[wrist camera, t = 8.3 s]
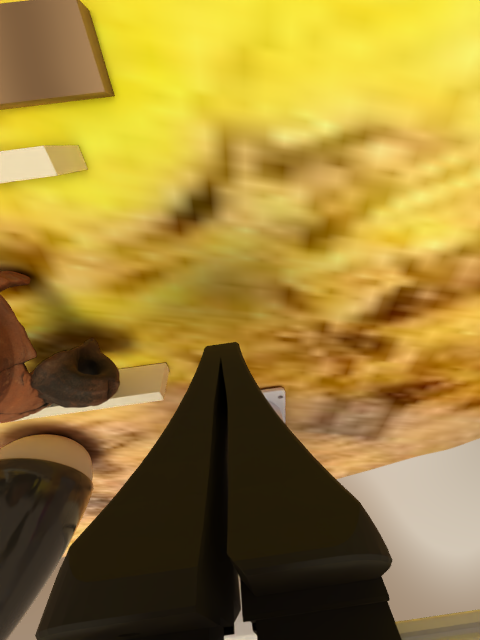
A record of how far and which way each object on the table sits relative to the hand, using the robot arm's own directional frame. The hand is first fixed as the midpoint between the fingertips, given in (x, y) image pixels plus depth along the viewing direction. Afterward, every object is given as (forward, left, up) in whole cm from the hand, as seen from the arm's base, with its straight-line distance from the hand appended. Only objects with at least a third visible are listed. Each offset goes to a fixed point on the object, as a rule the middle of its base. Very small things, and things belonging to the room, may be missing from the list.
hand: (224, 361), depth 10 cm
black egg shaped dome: (-17, +21, -8) cm, 28 cm away
